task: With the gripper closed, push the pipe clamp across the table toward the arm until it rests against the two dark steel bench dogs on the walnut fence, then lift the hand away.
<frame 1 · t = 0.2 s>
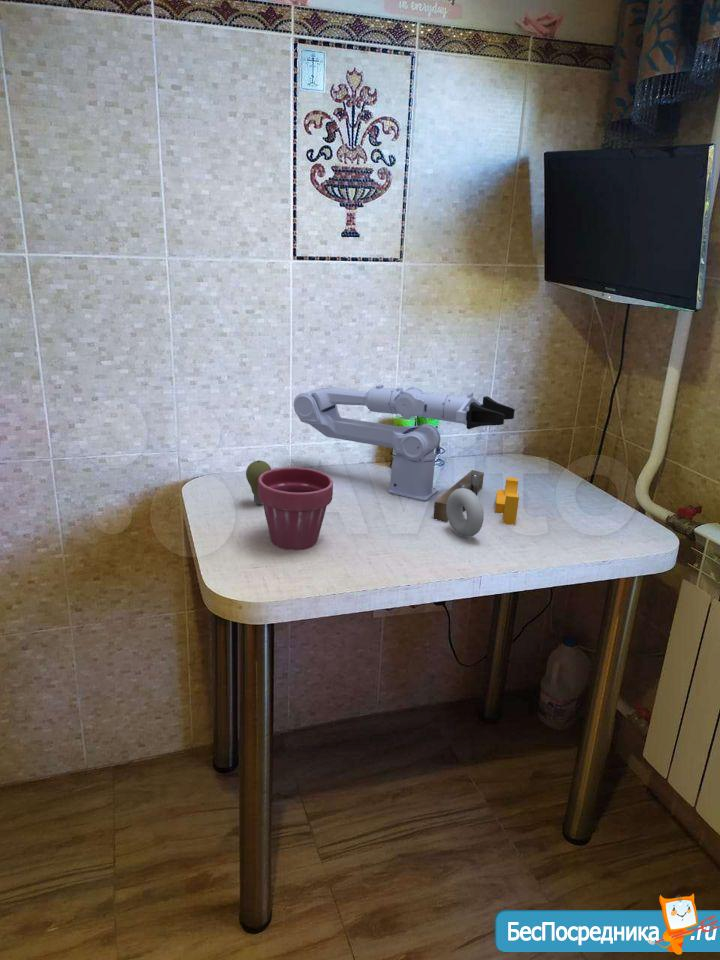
hand: (508, 416, 150), 22 cm above the table, tool horizontal, fingers open, 7 cm apart
light bulb: (259, 505, 155), on the table
plant pot: (294, 541, 139), on the table
bench fence: (459, 502, 161), on the table
pipe clamp: (504, 514, 157), on the table
donut: (462, 536, 145), on the table
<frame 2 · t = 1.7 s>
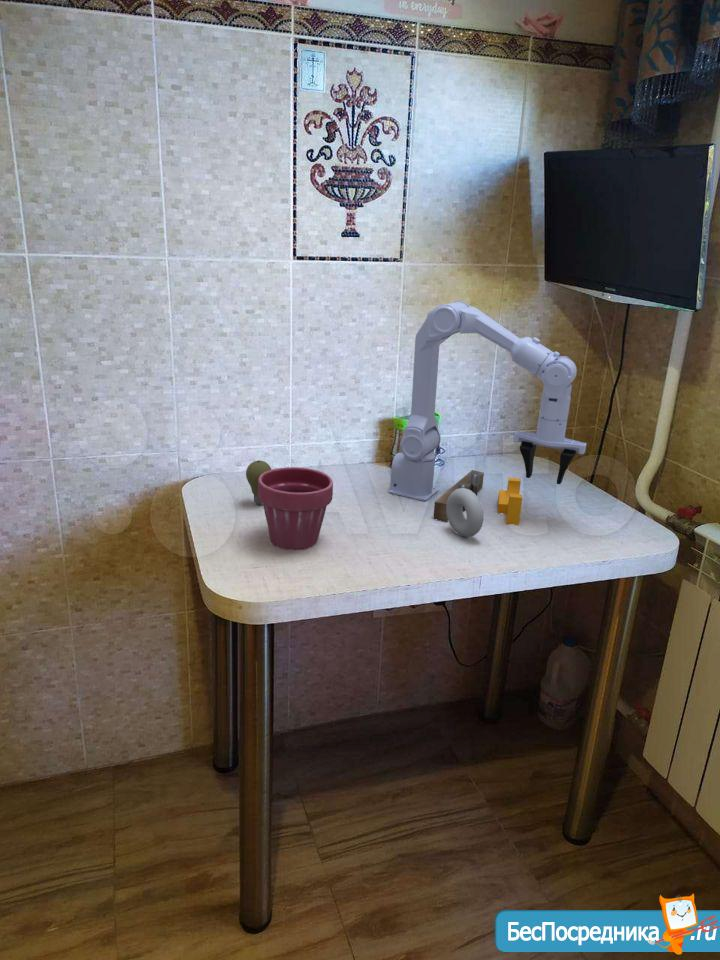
hand: (543, 479, 151), 9 cm above the table, tool pointing down, fingers open, 6 cm apart
nothing on the table moved.
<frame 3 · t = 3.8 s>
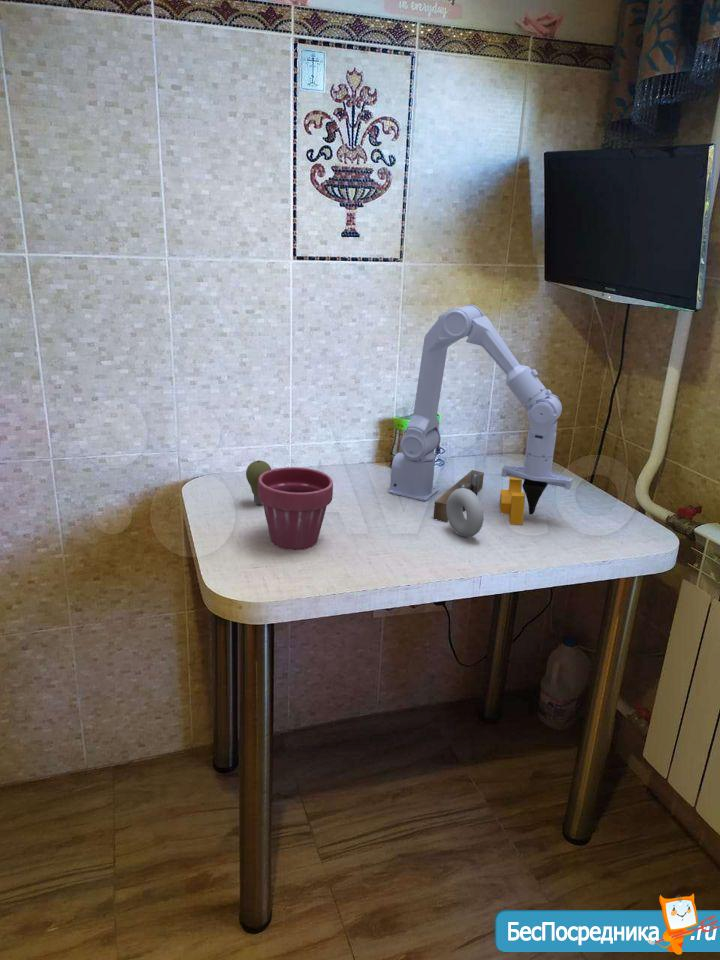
hand: (531, 513, 154), 1 cm above the table, tool pointing down, fingers closed
pipe clamp: (510, 514, 157), on the table, touching gripper
everything else where it was.
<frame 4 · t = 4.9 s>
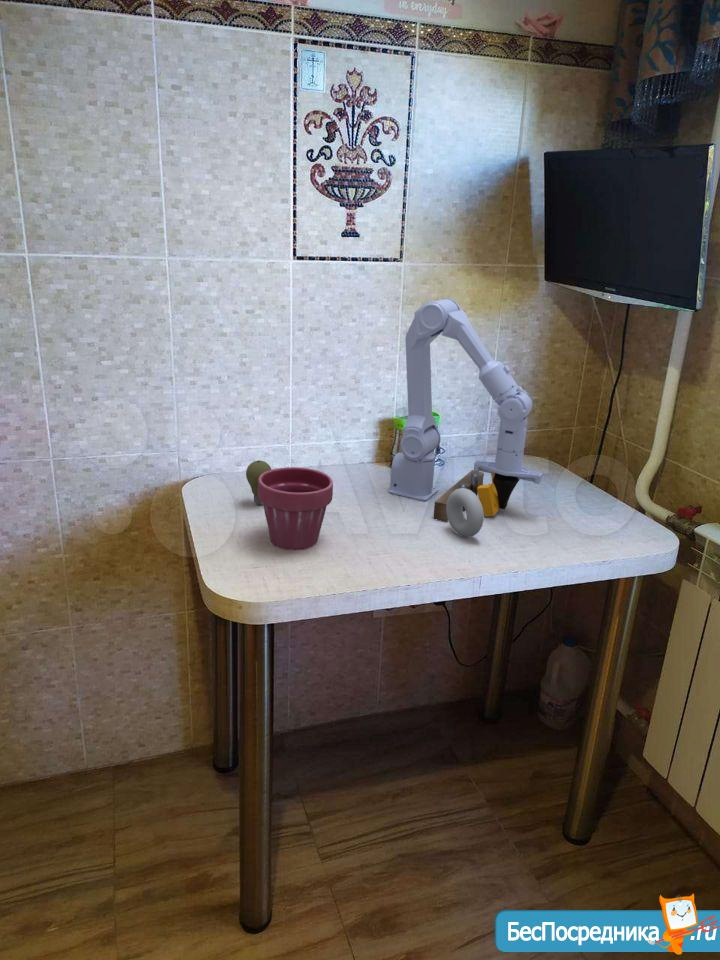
hand: (503, 507, 157), 1 cm above the table, tool pointing down, fingers closed
pipe clamp: (492, 506, 159), on the table, touching gripper
everything else where it was.
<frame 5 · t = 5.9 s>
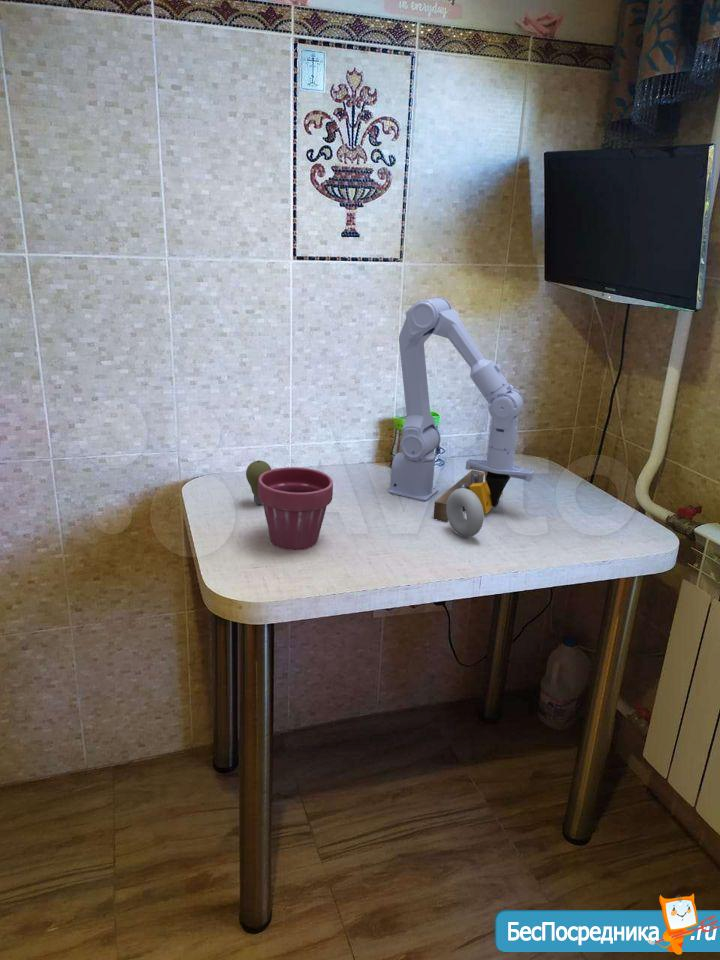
hand: (495, 505, 157), 1 cm above the table, tool pointing down, fingers closed, pressing on pipe clamp
pipe clamp: (485, 505, 159), on the table, touching bench fence, gripper
everything else where it was.
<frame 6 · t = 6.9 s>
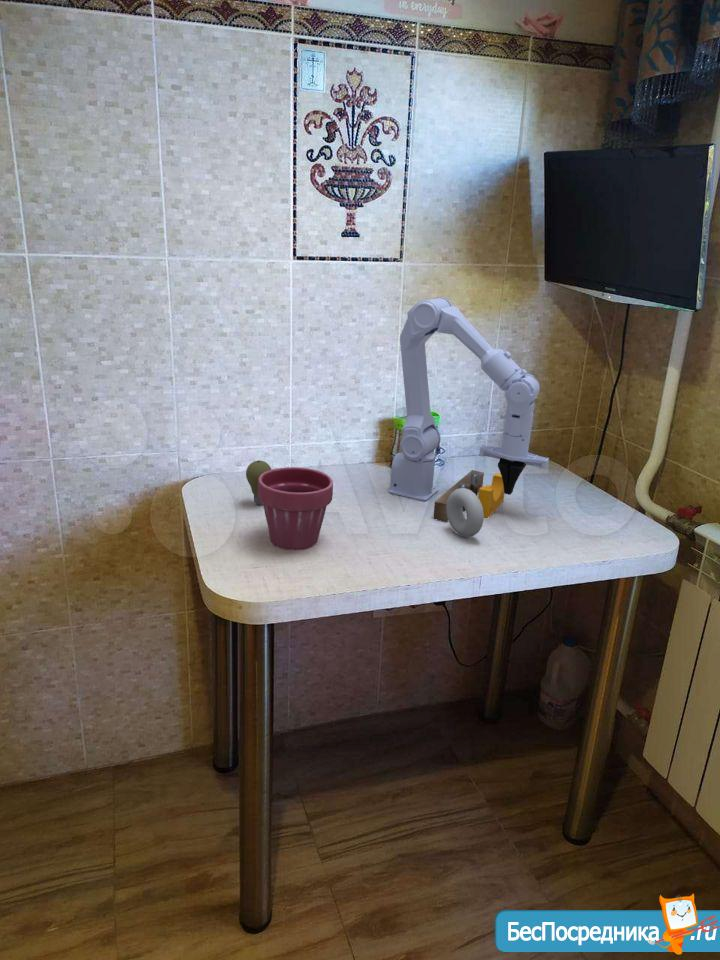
hand: (508, 492, 155), 5 cm above the table, tool pointing down, fingers closed
pipe clamp: (486, 508, 160), on the table
everything else where it was.
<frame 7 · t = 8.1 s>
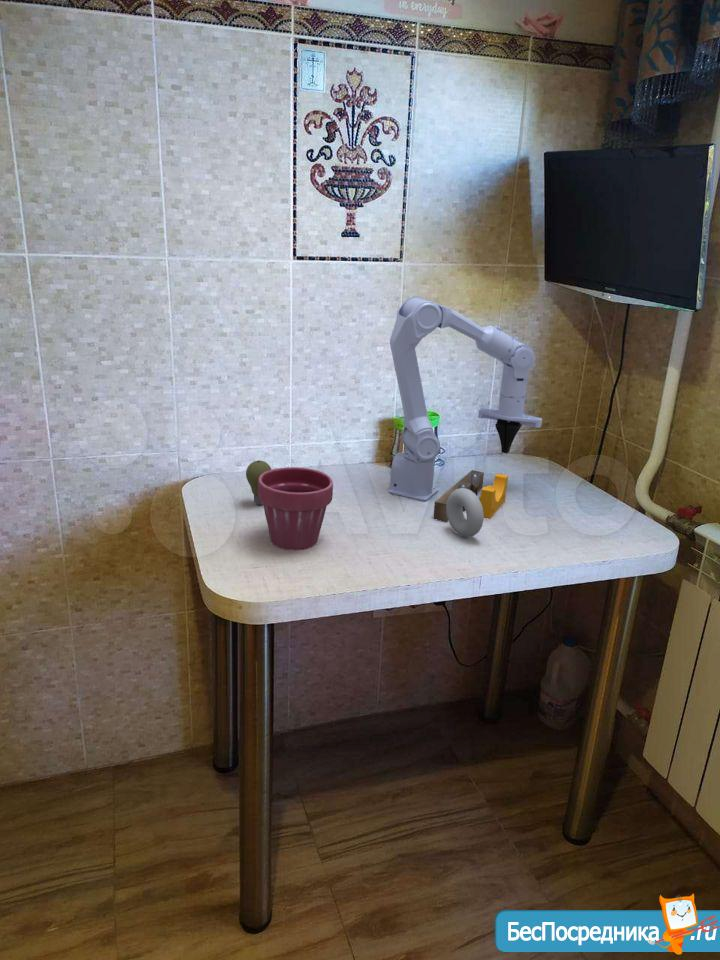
hand: (505, 451, 168), 9 cm above the table, tool pointing down, fingers closed
nothing on the table moved.
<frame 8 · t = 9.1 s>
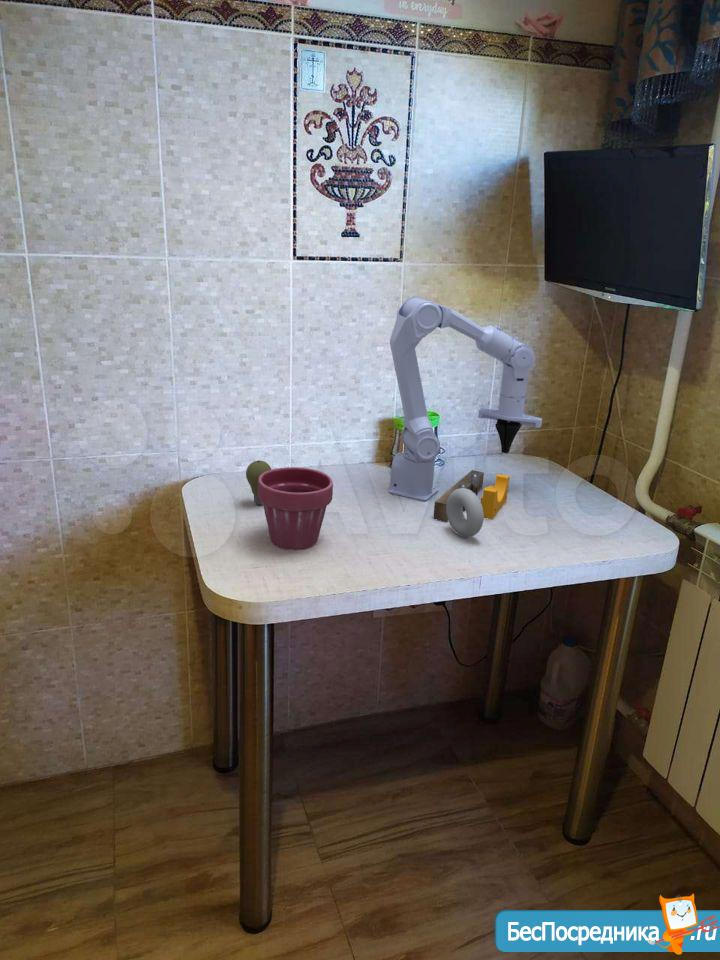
hand: (505, 451, 168), 9 cm above the table, tool pointing down, fingers closed
nothing on the table moved.
at the end: pipe clamp 1.4 cm from the target spot, on the table; pipe clamp moved 3.6 cm from its start; pipe clamp tilted 0° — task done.
